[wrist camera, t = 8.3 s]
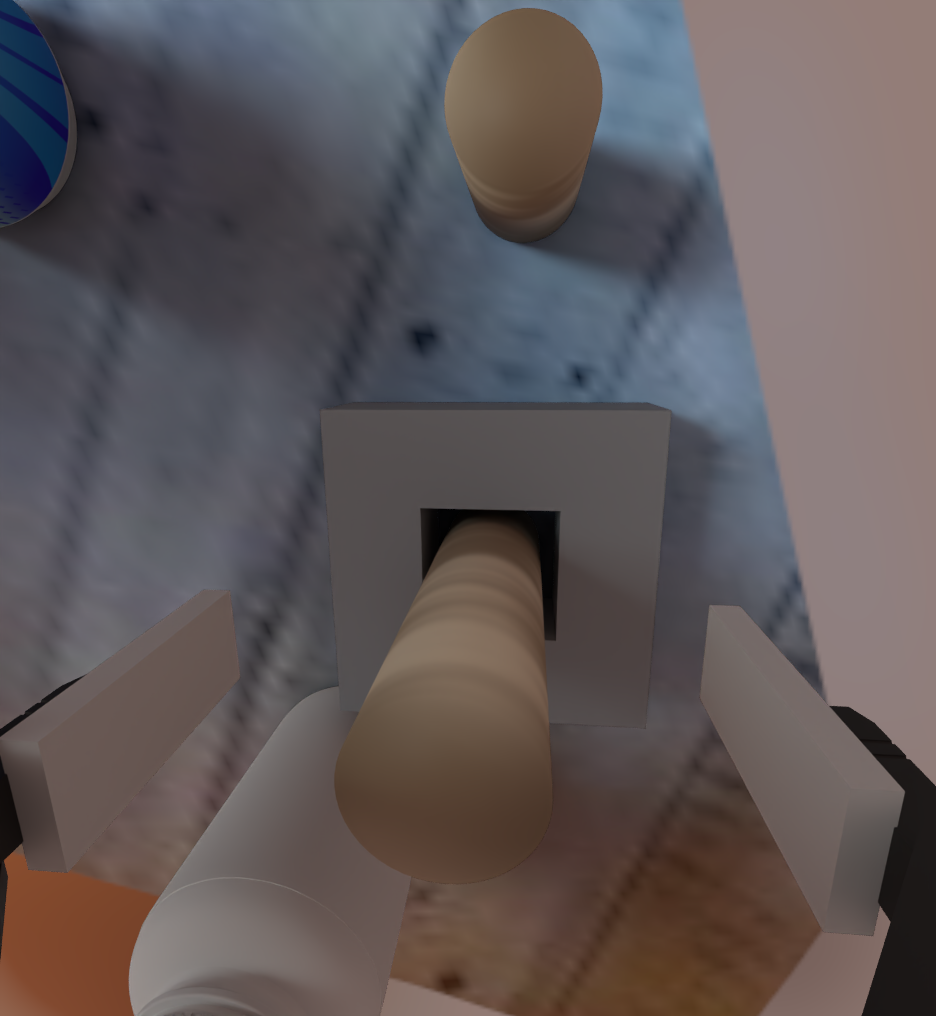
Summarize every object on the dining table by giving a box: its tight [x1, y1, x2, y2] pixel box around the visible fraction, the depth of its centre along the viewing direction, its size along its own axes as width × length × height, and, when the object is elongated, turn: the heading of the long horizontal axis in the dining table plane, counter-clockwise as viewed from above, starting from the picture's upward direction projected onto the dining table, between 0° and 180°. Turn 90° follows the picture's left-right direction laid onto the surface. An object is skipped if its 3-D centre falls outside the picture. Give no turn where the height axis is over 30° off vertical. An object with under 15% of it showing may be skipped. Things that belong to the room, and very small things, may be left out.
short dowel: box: [444, 8, 602, 243], centre depth 18 cm, size 4×4×7 cm
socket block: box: [320, 402, 671, 729], centre depth 23 cm, size 12×12×4 cm
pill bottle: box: [129, 686, 412, 1016], centre depth 21 cm, size 8×8×15 cm
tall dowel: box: [334, 509, 553, 884], centre depth 18 cm, size 4×4×15 cm
